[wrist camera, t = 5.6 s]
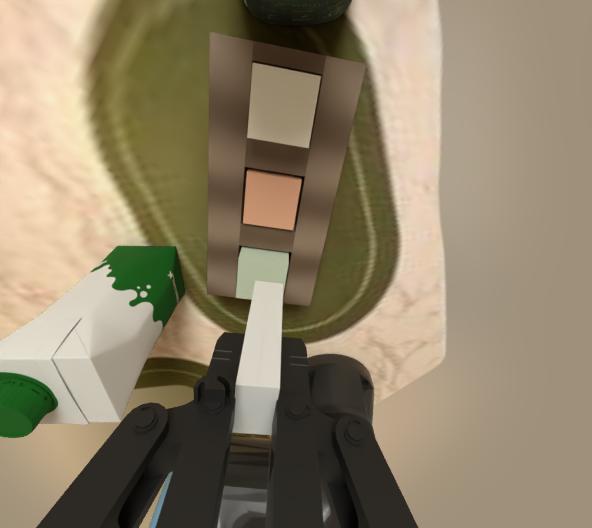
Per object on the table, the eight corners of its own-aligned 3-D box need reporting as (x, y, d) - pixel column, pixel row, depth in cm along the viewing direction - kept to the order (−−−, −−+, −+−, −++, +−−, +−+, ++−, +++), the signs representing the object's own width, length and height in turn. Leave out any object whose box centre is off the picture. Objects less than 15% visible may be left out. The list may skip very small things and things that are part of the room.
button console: (307, 282, 38) (309, 306, 34) (216, 271, 37) (207, 294, 33) (353, 70, 26) (366, 63, 22) (223, 43, 25) (209, 31, 21)
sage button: (282, 285, 34) (281, 303, 31) (240, 280, 34) (235, 297, 31) (288, 248, 32) (288, 263, 29) (243, 242, 31) (238, 257, 28)
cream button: (306, 142, 26) (308, 148, 23) (252, 133, 26) (247, 137, 23) (317, 79, 24) (321, 76, 21) (257, 67, 23) (252, 62, 20)
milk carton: (107, 238, 34) (-77, 378, 17) (183, 239, 35) (76, 378, 17) (127, 297, 39) (-4, 456, 21) (194, 297, 39) (118, 454, 22)
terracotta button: (292, 217, 32) (293, 230, 28) (247, 211, 31) (242, 223, 28) (300, 172, 29) (301, 180, 26) (251, 164, 29) (246, 171, 26)
